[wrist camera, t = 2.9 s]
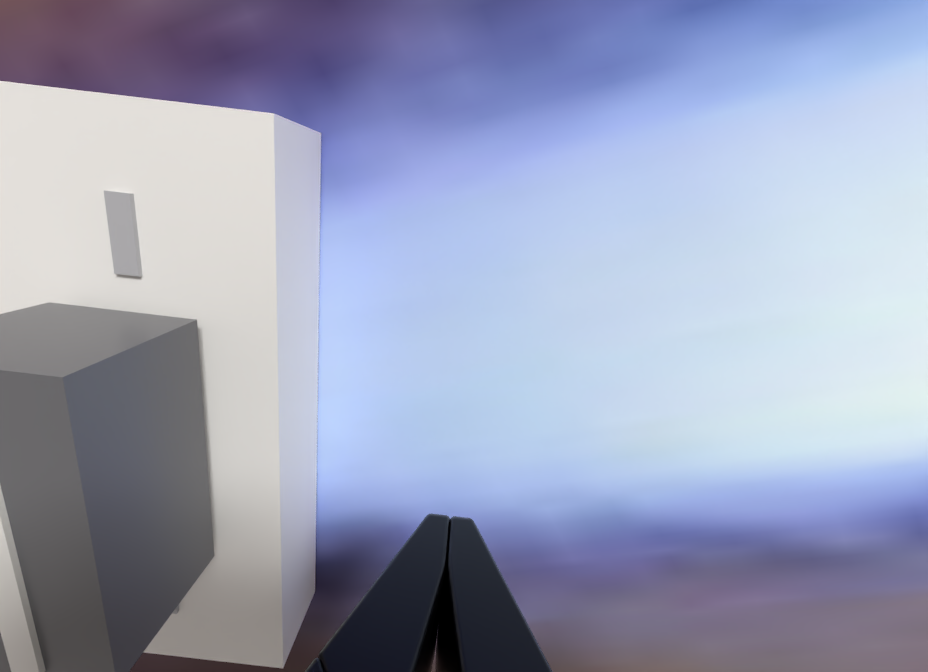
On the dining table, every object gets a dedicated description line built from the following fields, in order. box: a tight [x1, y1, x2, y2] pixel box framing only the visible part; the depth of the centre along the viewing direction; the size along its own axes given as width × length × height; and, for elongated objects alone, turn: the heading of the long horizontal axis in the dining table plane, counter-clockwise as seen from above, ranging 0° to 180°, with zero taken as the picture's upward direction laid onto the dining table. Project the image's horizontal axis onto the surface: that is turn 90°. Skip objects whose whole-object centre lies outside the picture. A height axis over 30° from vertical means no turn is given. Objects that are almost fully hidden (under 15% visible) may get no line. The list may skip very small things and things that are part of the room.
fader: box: [0, 302, 215, 672], centre depth 8 cm, size 3×6×3 cm, turn 174°
